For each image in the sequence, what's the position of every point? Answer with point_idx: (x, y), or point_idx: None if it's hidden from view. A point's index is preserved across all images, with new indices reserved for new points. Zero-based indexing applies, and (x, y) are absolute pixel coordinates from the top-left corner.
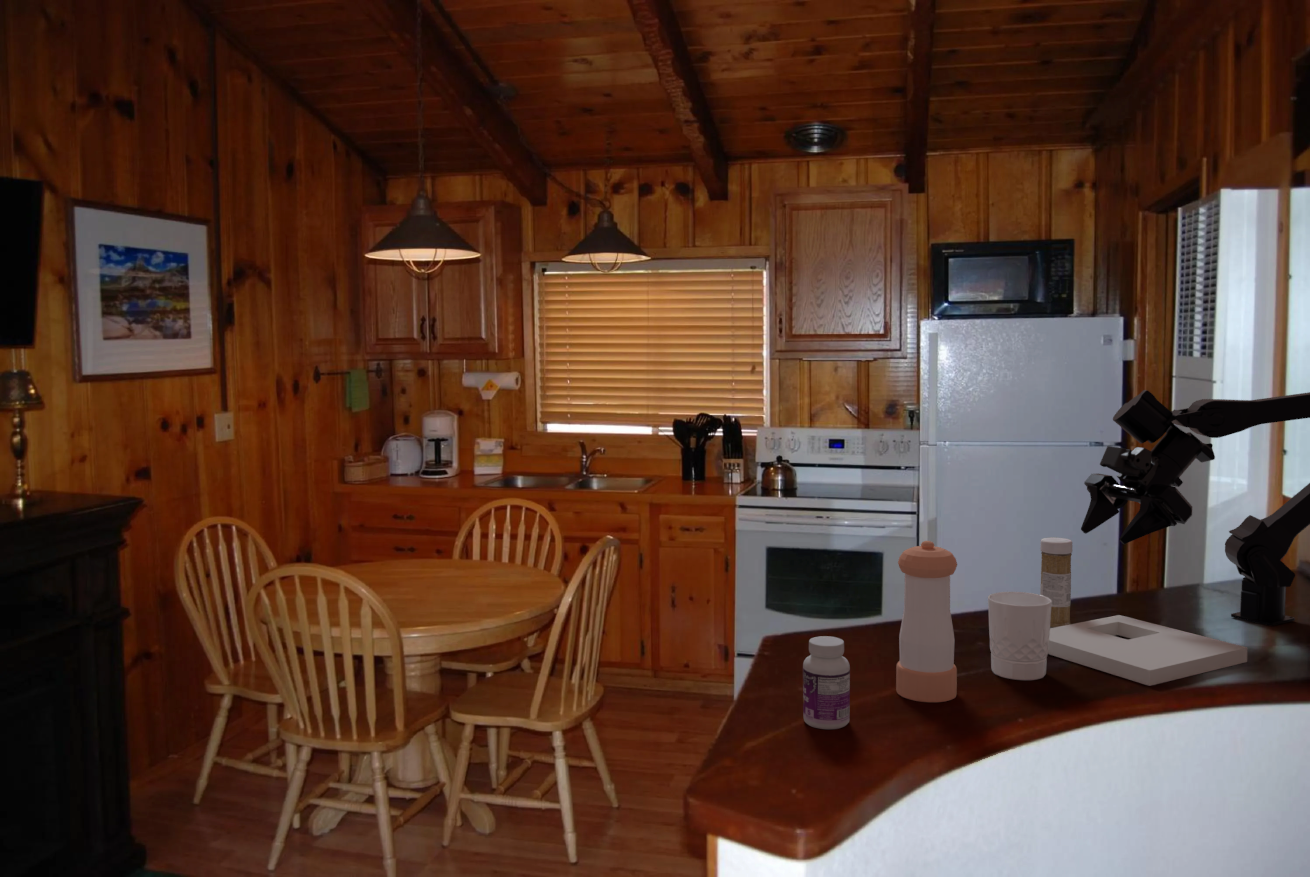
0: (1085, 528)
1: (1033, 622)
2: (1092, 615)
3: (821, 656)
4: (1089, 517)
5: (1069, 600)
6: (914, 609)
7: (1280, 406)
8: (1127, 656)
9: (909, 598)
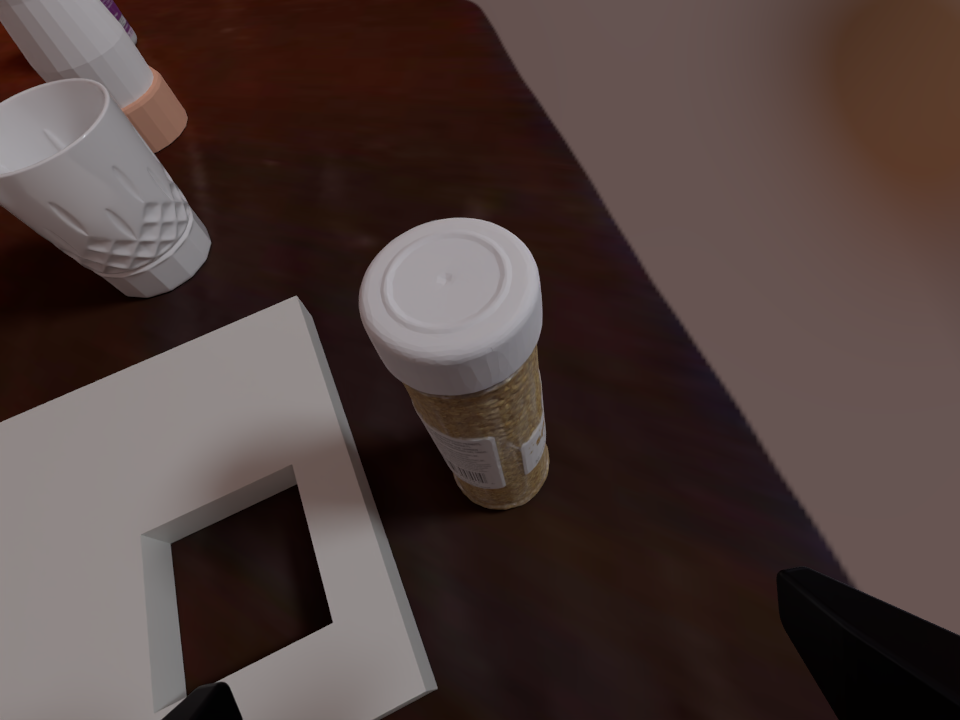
0: (798, 610)
1: (3, 172)
2: (640, 678)
3: None
4: (902, 670)
5: (450, 466)
6: None
7: None
8: (28, 454)
9: None
